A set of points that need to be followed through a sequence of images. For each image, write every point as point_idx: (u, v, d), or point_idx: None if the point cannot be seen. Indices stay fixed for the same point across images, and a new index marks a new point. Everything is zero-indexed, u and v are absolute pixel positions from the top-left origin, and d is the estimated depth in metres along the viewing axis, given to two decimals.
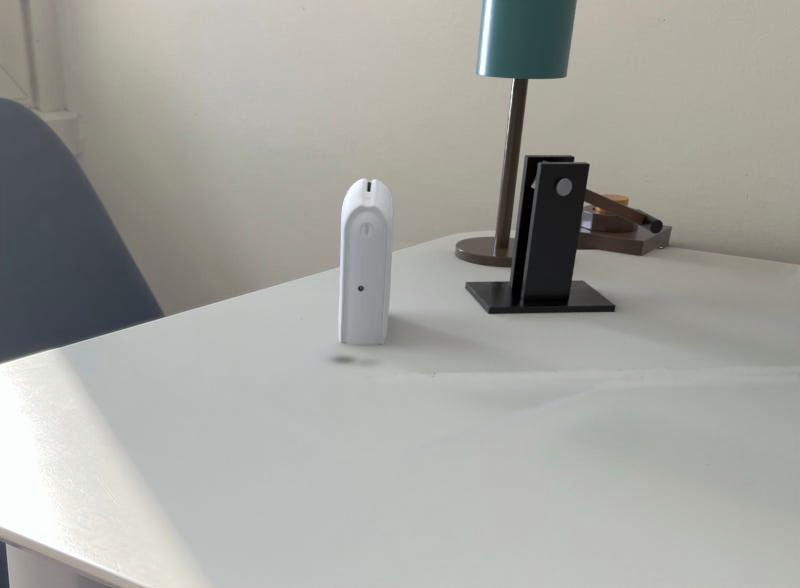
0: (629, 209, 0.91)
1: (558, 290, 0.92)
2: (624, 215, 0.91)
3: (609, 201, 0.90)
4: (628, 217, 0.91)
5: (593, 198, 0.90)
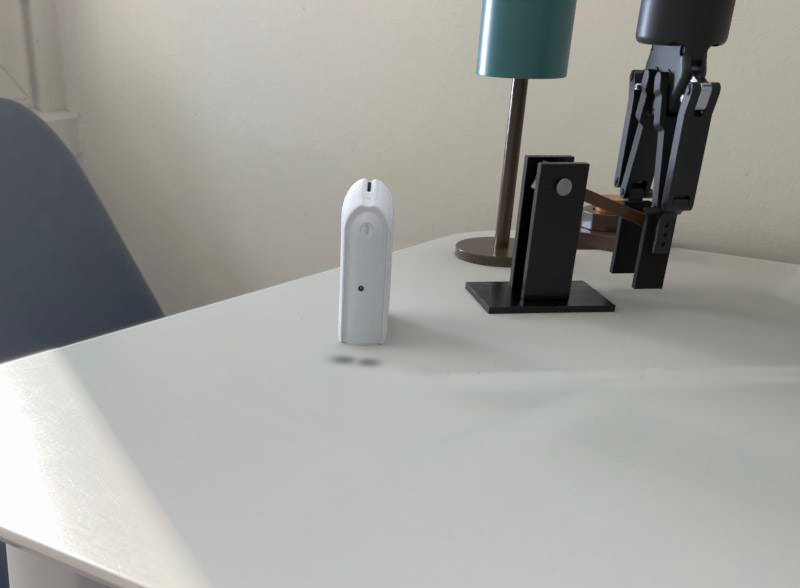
0: (629, 209, 0.91)
1: (558, 290, 0.92)
2: (624, 215, 0.91)
3: (609, 201, 0.90)
4: (628, 217, 0.91)
5: (593, 198, 0.90)
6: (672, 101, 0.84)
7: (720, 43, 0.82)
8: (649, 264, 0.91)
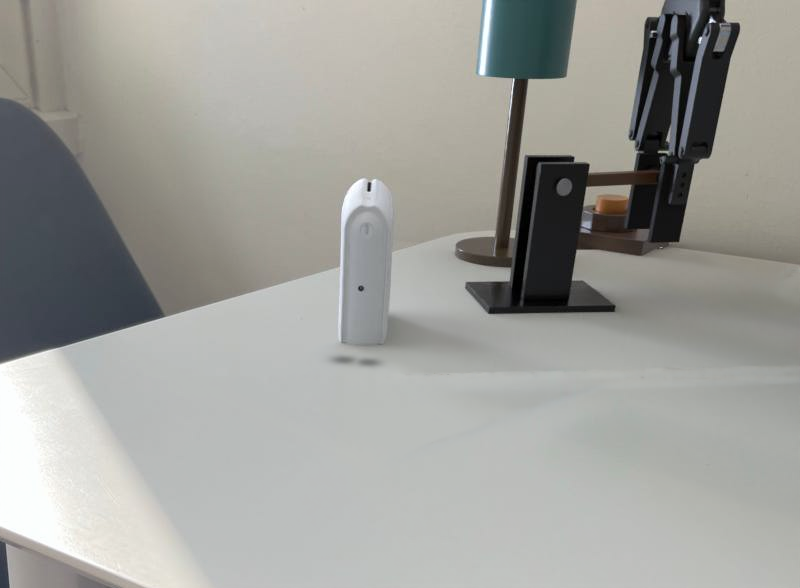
0: (639, 174, 0.89)
1: (558, 290, 0.92)
2: (636, 181, 0.89)
3: (616, 175, 0.89)
4: (641, 181, 0.89)
5: (598, 180, 0.89)
6: (689, 44, 0.82)
7: None
8: (666, 216, 0.89)
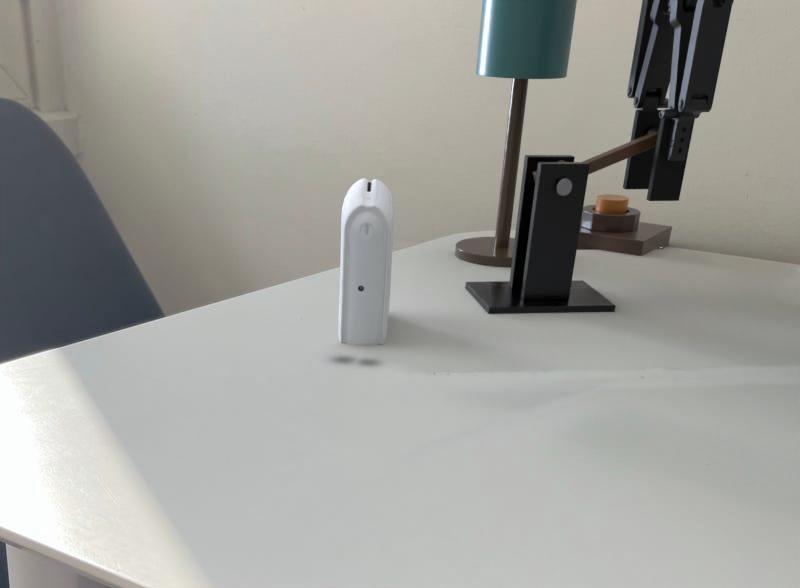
0: (637, 143, 0.88)
1: (558, 290, 0.92)
2: (637, 151, 0.88)
3: (614, 153, 0.88)
4: (641, 149, 0.88)
5: (597, 164, 0.88)
6: None
7: None
8: (665, 174, 0.87)
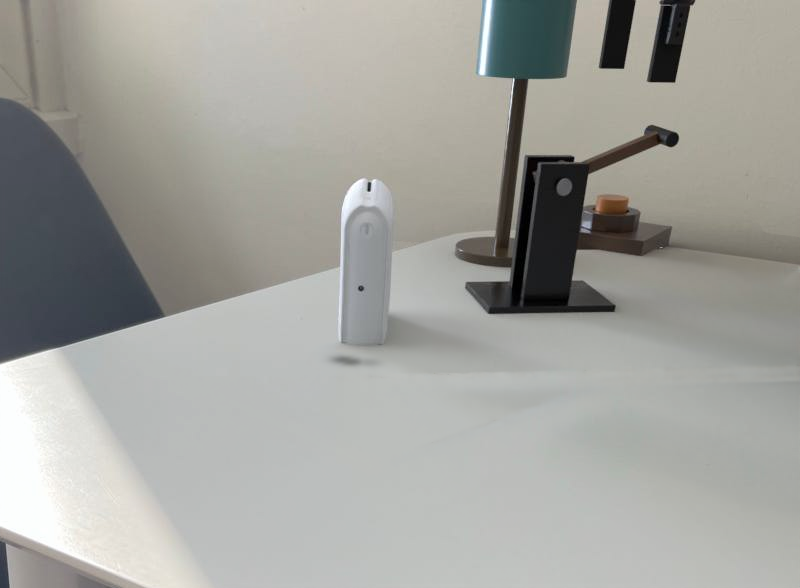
0: (637, 143, 0.88)
1: (558, 290, 0.92)
2: (637, 150, 0.88)
3: (614, 153, 0.88)
4: (641, 149, 0.88)
5: (597, 164, 0.88)
6: None
7: None
8: (663, 57, 0.98)
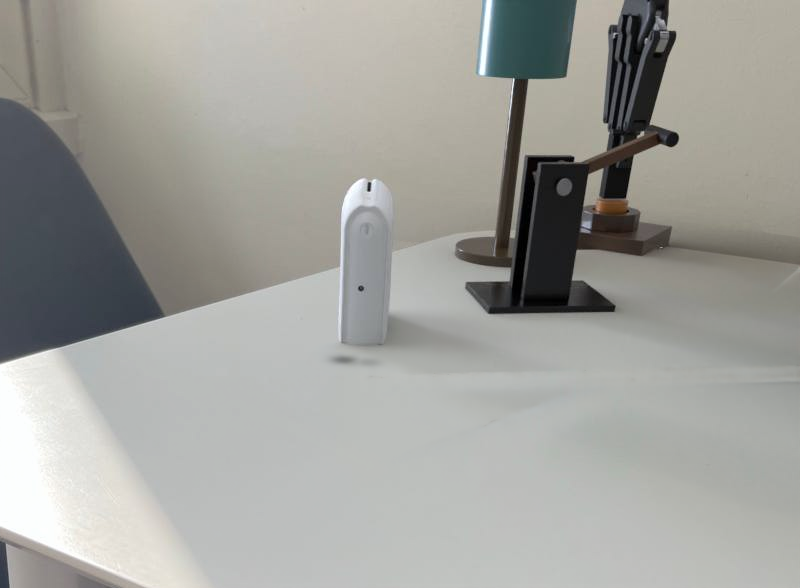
0: (637, 143, 0.88)
1: (558, 290, 0.92)
2: (637, 150, 0.88)
3: (614, 153, 0.88)
4: (641, 149, 0.88)
5: (597, 164, 0.88)
6: (641, 39, 1.03)
7: None
8: (615, 177, 1.12)
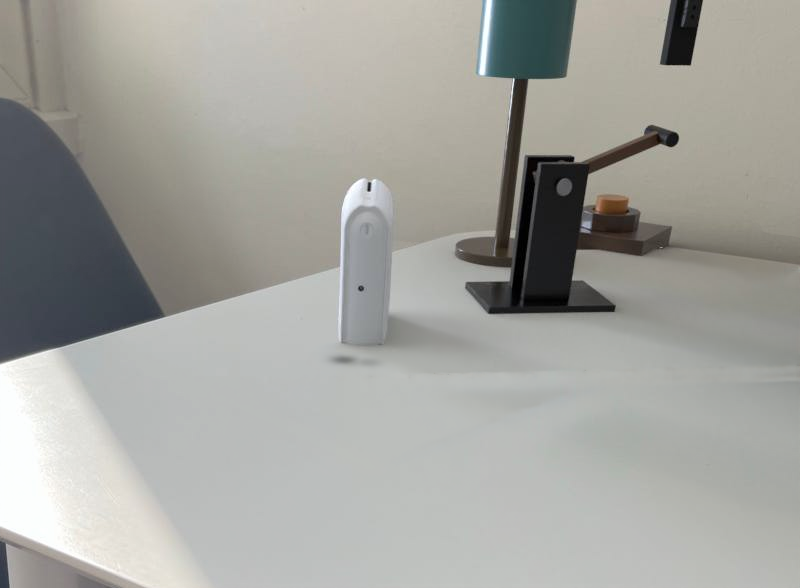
0: (637, 143, 0.88)
1: (558, 290, 0.92)
2: (637, 150, 0.88)
3: (614, 153, 0.88)
4: (641, 149, 0.88)
5: (597, 164, 0.88)
6: None
7: None
8: (679, 40, 1.00)
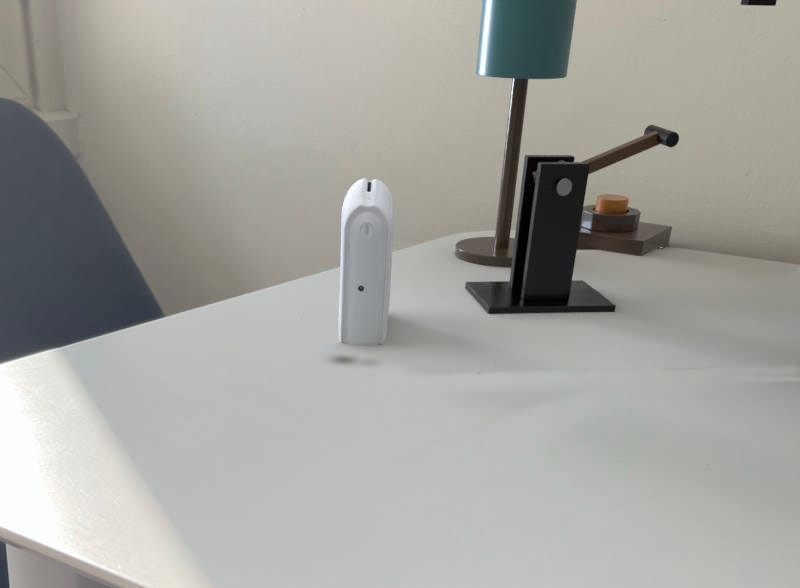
0: (637, 143, 0.88)
1: (558, 290, 0.92)
2: (637, 150, 0.88)
3: (614, 153, 0.88)
4: (641, 149, 0.88)
5: (597, 164, 0.88)
6: None
7: None
8: None
